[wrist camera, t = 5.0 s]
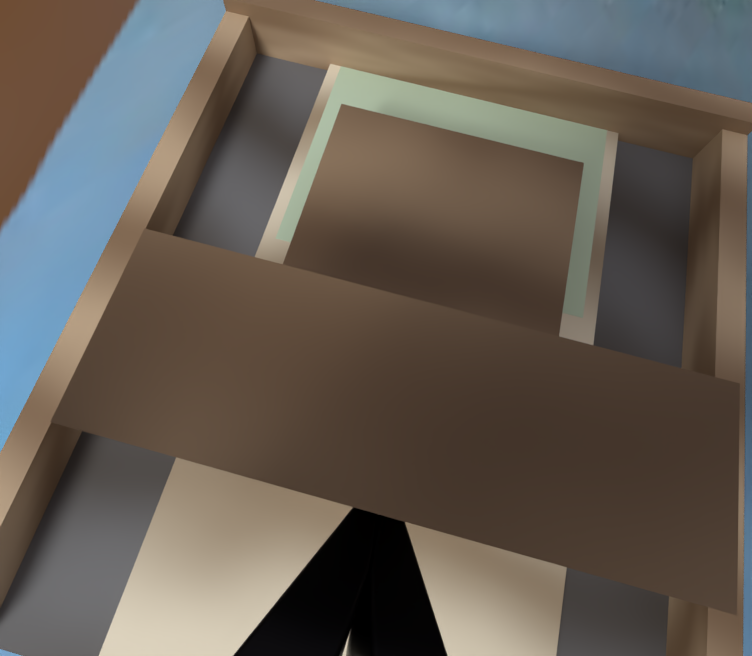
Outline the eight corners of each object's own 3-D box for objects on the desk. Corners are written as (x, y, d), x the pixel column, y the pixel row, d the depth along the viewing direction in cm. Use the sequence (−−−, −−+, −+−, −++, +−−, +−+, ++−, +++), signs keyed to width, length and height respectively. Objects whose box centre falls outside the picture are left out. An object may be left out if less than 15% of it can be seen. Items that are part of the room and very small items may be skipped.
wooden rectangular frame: (686, 855, 13) (760, 936, 11) (-43, 632, 14) (-124, 660, 12) (712, 149, 22) (758, 104, 19) (244, 36, 23) (230, -20, 20)
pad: (579, 320, 18) (582, 317, 18) (276, 242, 19) (275, 238, 19) (603, 135, 21) (606, 130, 21) (340, 71, 22) (340, 66, 21)
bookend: (501, 539, 15) (736, 615, 6) (232, 464, 16) (50, 422, 6) (556, 202, 20) (745, -69, 10) (342, 149, 20) (332, -160, 10)
